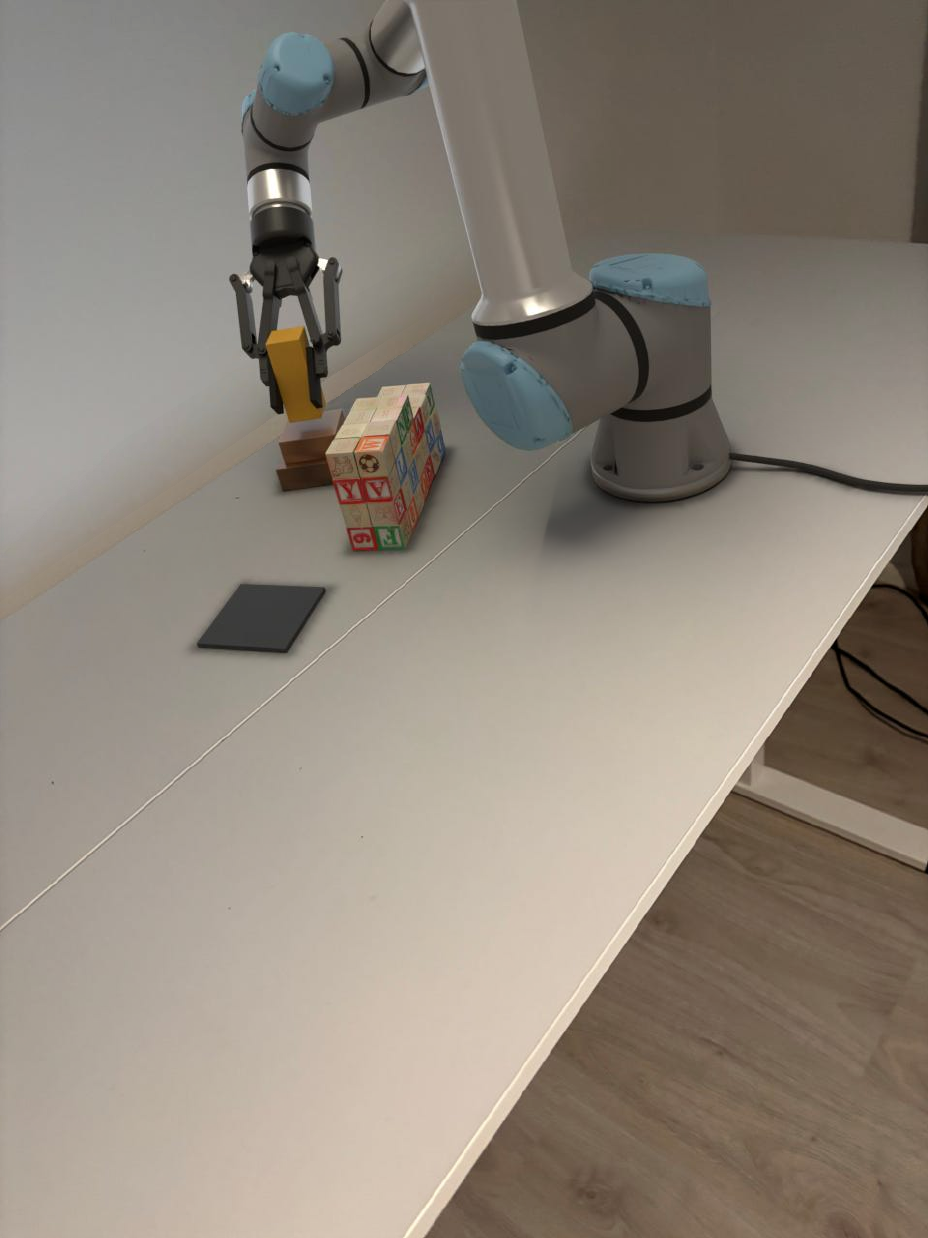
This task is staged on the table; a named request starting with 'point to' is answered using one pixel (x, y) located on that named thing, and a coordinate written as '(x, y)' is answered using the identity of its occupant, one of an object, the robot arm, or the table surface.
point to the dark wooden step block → (307, 451)
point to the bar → (293, 373)
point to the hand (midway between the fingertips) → (296, 406)
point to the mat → (262, 618)
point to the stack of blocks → (386, 464)
